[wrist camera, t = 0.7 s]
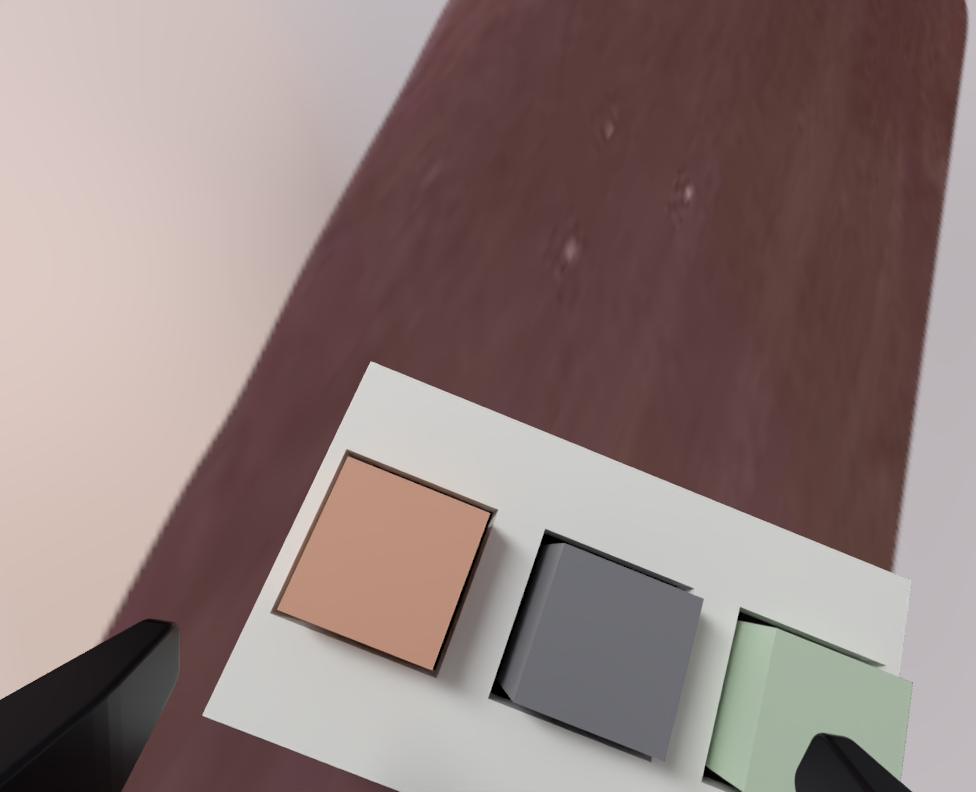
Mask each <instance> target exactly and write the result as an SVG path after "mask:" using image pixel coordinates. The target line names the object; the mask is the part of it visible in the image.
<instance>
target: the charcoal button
mask: <svg viewBox="0 0 976 792" xmlns="http://www.w3.org/2000/svg"><path fill="white" fill-rule="evenodd" d="M703 601H704V599H703V598H701V597H698V596H696V595H693V594H691V593H688V592H686V591H683V590H681V589H678V588H676V587H673V586H671V585H668V584H666V583H663V582H661V581H658V580H656V579H653V578H651V577H648V576H646V575H643V574H641V573H638V572H636V571H633V570H631V569H628V568H626V567H623V566H621V565H618V564H616V563H613V562H611V561H608V560H606V559H603V558H601V557H598V556H596V555H593V554H591V553H588V552H586V551H583V550H581V549H578V548H576V547H573V546H571V545H568V544H566V543H559V544H548V545H542V546H541V549H540V552H539V555H538V558H537V561H536V564H535V567H534V570H533V572H532V575H531V578H530V581H529V584H528V587H527V590H526V593H525V596H524V599H523V602H522V605H521V608H520V611H519V614H518V617H517V620H516V623H515V626H514V629H513V632H512V635H511V638H510V641H509V644H508V647H507V650H506V653H505V656H504V659H503V662H502V665H501V668H500V671H499V674H498V677H497V681H498V682H499V684H500V685H501V687H502V688H503V689H504V691H505V692H506V693H507V695H508V696H509V697H510V699H511V700H512V701H513V702H514V703H516V704H519V705H521V706H524V707H527V708H529V709H532V710H534V711H537V712H539V713H542V714H544V715H547V716H550V717H552V718H555V719H557V720H560V721H562V722H565V723H567V724H570V725H573V726H575V727H578V728H580V729H583V730H585V731H588V732H590V733H593V734H596V735H598V736H601V737H603V738H606V739H608V740H611V741H613V742H616V743H619V744H621V745H624V746H626V747H629V748H631V749H634V750H636V751H639V752H641V753H644V754H647V755H649V756H652V757H654V758H657V759H659V760H662V761H664V762H665V759H666V755H667V750H668V746H669V742H670V738H671V734H672V730H673V725H674V721H675V717H676V713H677V709H678V705H679V701H680V696H681V692H682V688H683V684H684V680H685V676H686V671H687V667H688V663H689V659H690V655H691V651H692V646H693V642H694V638H695V634H696V630H697V626H698V622H699V617H700V613H701V609H702V605H703Z"/></svg>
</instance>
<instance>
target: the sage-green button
mask: <svg viewBox="0 0 976 792" xmlns="http://www.w3.org/2000/svg"><path fill="white" fill-rule="evenodd" d="M912 687H913V682H910V681H908V680H905V679H903V678H900V677H898V676H895V675H893V674H890V673H888V672H885V671H883V670H880V669H878V668H875V667H873V666H870V665H868V664H865V663H863V662H860V661H858V660H855V659H853V658H850V657H848V656H845V655H843V654H840V653H838V652H835V651H833V650H830V649H828V648H825V647H823V646H820V645H818V644H815V643H813V642H810V641H808V640H805V639H803V638H800V637H798V636H796V635H793V634H791V633H788V632H786V631H783V630H781V629H778V628H774V627H769V626H764V625H759V624H753V623H748V622H743V621H738V620H737V623H736V628H735V632H734V637H733V641H732V646H731V650H730V655H729V659H728V664H727V668H726V673H725V677H724V682H723V686H722V691H721V695H720V700H719V705H718V709H717V714H716V718H715V723H714V727H713V732H712V736H711V741H710V745H709V750H708V754H707V759H706V763H705V766H706V767H708V768H709V769H711V770H712V771H714V772H715V773H716V774H718V775H719V776H721V777H722V778H724V779H725V780H727V781H728V782H729V783H731V784H732V785H734V786H735V787H737V788H738V789H739V790H741V791H742V792H796V791H795V783H794V782H795V772H796V770H797V767H798V765H799V764H800V762H801V760H802V758H803V756H804V754H805V752H806V750H807V748H808V746H809V744H810V742H811V740H812V738H813V737H814V736H815V735H816V734H818V733H822V732H823V733H830V734H835V735H841V736H845V737H848V738H850V739H852V740H853V741H854V742H855V743H857V744H858V745H859V746H860V747H861V748H862V749H863V750H865V751H866V752H867V753H868V754H869V755H870V756H871V757H873V758H874V759H875V760H876V761H877V762H878V763H880V764H881V765H882V766H883V767H884V768H885V769H886V770H888V771H889V772H890V773H891V774H892V775H893V776H894V777H896V778H897V779H898V780H899V781H900V782H901V775H902V767H903V759H904V751H905V742H906V734H907V726H908V718H909V711H910V702H911V695H912Z"/></svg>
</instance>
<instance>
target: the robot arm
mask: <svg viewBox="0 0 976 792" xmlns="http://www.w3.org/2000/svg"><path fill="white" fill-rule="evenodd" d="M179 654H180V631H179V627H178V625H177V624H176V623H174V622H169V621H163V620H157V619H145V620H142V621H140V622H138V623H137V624H135V625H133V626H131V627H129V628H128V629H126V630H124V631H122V632H121V633H119V634H117V635H115V636H113V637H112V638H110V639H108V640H106V641H104V642H103V643H101V644H99V645H97V646H96V647H94V648H92V649H90V650H89V651H87V652H85V653H83V654H81V655H79V656H78V657H76V658H74V659H72V660H71V661H69V662H67V663H65V664H63V665H62V666H60V667H58V668H57V669H54V670H53V671H51V672H49V673H47V674H46V675H44V676H42V677H40V678H39V679H37V680H35V681H33V682H31V683H30V684H28V685H26V686H24V687H22V688H21V689H19V690H17V691H15V692H13V693H12V694H10V695H8V696H6V697H5V698H3V699H1V700H0V792H121V791H122V789H123V788H124V786H125V784H126V782H127V780H128V778H129V776H130V774H131V772H132V770H133V768H134V766H135V764H136V762H137V760H138V758H139V756H140V754H141V752H142V750H143V748H144V746H145V744H146V742H147V740H148V738H149V736H150V734H151V732H152V730H153V728H154V726H155V724H156V722H157V720H158V718H159V716H160V714H161V712H162V710H163V708H164V706H165V704H166V702H167V700H168V698H169V696H170V694H171V692H172V690H173V688H174V686H175V684H176V681H177V678H178V674H179ZM794 783H795V791H796V792H912V791H910V790H909V789H908V788H907V787H906V786H905V785H904V784H902V783H901V782H900V781H899V780H898V779H897V778H896V777H894V776H893V775H892V774H891V773H890V772H889V771H888V770H886V769H885V768H884V767H883V766H882V765H881V764H880V763H878V762H877V761H876V760H875V759H874V758H873V757H871V756H870V755H869V754H868V753H867V752H866V751H865V750H863V749H862V748H861V747H860V746H859V745H858V744H857V743H855V742H854V741H853V740H852V739H850V738H848V737H845V736H841V735H835V734H830V733H823V732H822V733H818V734H816V735H815V736H814V737H813V738H812V740H811V742H810V744H809V746H808V748H807V750H806V752H805V754H804V756H803V758H802V760H801V762H800V764H799V765H798V767H797V770H796V772H795V782H794Z"/></svg>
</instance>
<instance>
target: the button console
mask: <svg viewBox="0 0 976 792" xmlns="http://www.w3.org/2000/svg"><path fill="white" fill-rule="evenodd" d="M348 456H349V457H351V458H354V459H356V460H359V461H361V462H364V463H366V464H369V465H371V466H373V465H375V466H378V467H380V468H383V469H385V470H388V471H390V472H393V473H395V474H398V475H400V476H403V477H405V478H408V479H410V480H413V481H415V482H418V483H420V484H423V485H425V486H428V487H430V488H433V489H435V490H437V491H440V492H442V493H445V494H447V495H450V496H452V497H455V498H457V499H460V500H462V501H465V502H467V503H470V504H472V505H475V506H477V507H480V508H482V509H485V510H487V511H490V512H492V513H493V514H492V517H491V520H490V522H489V525H488V528H487V530H486V533H485V536H484V539H483V541H482V544H481V547H480V549H479V552H478V555H477V558H476V560H475V563H474V566H473V568H472V571H471V574H470V577H469V579H468V582H467V585H466V587H465V590H464V593H463V596H462V598H461V601H460V604H459V606H458V609H457V612H456V615H455V617H454V620H453V623H452V625H451V628H450V631H449V634H448V636H447V639H446V642H445V644H444V647H443V650H442V653H441V655H440V658H439V661H438V663H437V666H436V669H435V671H434V670H430V669H427V668H424V667H422V666H419V665H417V664H414V663H412V662H409V661H407V660H404V659H401V658H399V657H396V656H394V655H391V654H389V653H386V652H384V651H381V650H378V649H376V648H373V647H371V646H368V645H366V644H363V643H361V642H358V641H355V640H353V639H350V638H348V637H345V636H343V635H340V634H338V633H335V632H333V631H330V630H327V629H325V628H322V627H320V626H317V625H315V624H312V623H310V622H307V621H304V620H302V619H299V618H297V617H294V616H292V615H289V614H287V613H284V612H281V611H279V610H277V608H278V606H279V604H280V602H281V600H282V597H283V595H284V593H285V591H286V589H287V587H288V584H289V582H290V580H291V578H292V576H293V574H294V572H295V569H296V567H297V565H298V563H299V561H300V559H301V556H302V554H303V552H304V550H305V548H306V546H307V543H308V541H309V539H310V537H311V535H312V533H313V530H314V528H315V526H316V524H317V522H318V520H319V518H320V515H321V513H322V511H323V509H324V507H325V505H326V502H327V500H328V498H329V496H330V494H331V492H332V489H333V487H334V485H335V483H336V481H337V479H338V477H339V474H340V472H341V470H342V468H343V466H344V464H345V461H346V459H347V457H348ZM544 533H545V534H547V535H550V536H552V537H555V538H557V539H560V540H562V541H565V542H567V543H570V544H572V545H575V546H577V547H580V548H582V549H585V550H587V551H590V552H592V553H595V554H597V555H600V556H602V557H605V558H607V559H610V560H612V561H615V562H617V563H620V564H622V565H625V566H627V567H630V568H632V569H635V570H637V571H640V572H642V573H645V574H647V575H650V576H652V577H655V578H657V579H660V580H662V581H665V582H667V583H669V584H672V585H674V586H677V588H678V589H681V590H683V591H686V592H688V593H691V594H693V595H696V596H698V597H701V598H703V599H704V601H703V605H702V609H701V613H700V617H699V622H698V626H697V630H696V634H695V638H694V642H693V646H692V651H691V655H690V659H689V663H688V667H687V671H686V676H685V680H684V684H683V688H682V692H681V696H680V701H679V705H678V709H677V713H676V717H675V721H674V725H673V730H672V734H671V738H670V742H669V746H668V750H667V755H666V759H665V762H664V761H662V760H659V759H657V758H654V757H652V756H649V755H647V754H644V753H641V752H639V751H636V750H634V749H631V748H629V747H626V746H624V745H621V744H619V743H616V742H613V741H611V740H608V739H606V738H603V737H601V736H598V735H596V734H593V733H590V732H588V731H585V730H583V729H580V728H578V727H575V726H573V725H570V724H567V723H565V722H562V721H560V720H557V719H555V718H552V717H550V716H547V715H544V714H542V713H539V712H537V711H534V710H532V709H529V708H527V707H524V706H521V705H519V704H516V703H514V702H513V701H511V700H508V699H506V698H503V697H501V696H498V695H496V694H493V693H491V692H490V691H491V688H492V685H493V682H494V679H495V676H496V673H497V670H498V667H499V665H500V662H501V659H502V656H503V653H504V650H505V647H506V644H507V641H508V638H509V635H510V632H511V629H512V626H513V623H514V620H515V617H516V614H517V611H518V608H519V605H520V602H521V599H522V596H523V593H524V590H525V587H526V584H527V581H528V578H529V575H530V572H531V569H532V567H533V564H534V561H535V558H536V555H537V552H538V549H539V546H540V543H541V540H542V537H543V534H544ZM911 584H912V581H910V580H908V579H906V578H903V577H901V576H898V575H896V574H893V573H891V572H888V571H886V570H883V569H881V568H878V567H876V566H874V565H871V564H869V563H866V562H864V561H861V560H859V559H856V558H854V557H851V556H849V555H846V554H844V553H842V552H839V551H837V550H834V549H832V548H829V547H827V546H824V545H822V544H819V543H817V542H814V541H812V540H810V539H807V538H805V537H802V536H800V535H797V534H795V533H792V532H790V531H787V530H785V529H782V528H780V527H778V526H775V525H773V524H770V523H768V522H765V521H763V520H760V519H758V518H755V517H753V516H750V515H748V514H745V513H743V512H741V511H738V510H736V509H733V508H731V507H728V506H726V505H723V504H721V503H718V502H716V501H713V500H711V499H709V498H706V497H704V496H701V495H699V494H696V493H694V492H691V491H689V490H686V489H684V488H681V487H679V486H677V485H674V484H672V483H669V482H667V481H664V480H662V479H659V478H657V477H654V476H652V475H649V474H647V473H645V472H642V471H640V470H637V469H635V468H632V467H630V466H627V465H625V464H622V463H620V462H617V461H615V460H613V459H610V458H608V457H605V456H603V455H600V454H598V453H595V452H593V451H590V450H588V449H585V448H583V447H580V446H578V445H576V444H573V443H571V442H568V441H566V440H563V439H561V438H558V437H556V436H553V435H551V434H548V433H546V432H544V431H541V430H539V429H536V428H534V427H531V426H529V425H526V424H524V423H521V422H519V421H516V420H514V419H512V418H509V417H507V416H504V415H502V414H499V413H497V412H494V411H492V410H489V409H487V408H484V407H482V406H480V405H477V404H475V403H472V402H470V401H467V400H465V399H462V398H460V397H457V396H455V395H452V394H450V393H448V392H445V391H443V390H440V389H438V388H435V387H433V386H430V385H428V384H425V383H423V382H420V381H418V380H415V379H413V378H411V377H408V376H406V375H403V374H401V373H398V372H396V371H393V370H391V369H388V368H386V367H383V366H381V365H379V364H376V363H374V362H370V364H369V366H368V368H367V370H366V372H365V374H364V377H363V379H362V381H361V383H360V385H359V387H358V389H357V391H356V393H355V395H354V398H353V400H352V402H351V404H350V406H349V408H348V410H347V412H346V414H345V416H344V419H343V421H342V423H341V425H340V427H339V429H338V431H337V433H336V435H335V437H334V440H333V442H332V444H331V446H330V448H329V450H328V452H327V454H326V456H325V458H324V461H323V463H322V465H321V467H320V469H319V471H318V473H317V475H316V477H315V480H314V482H313V484H312V486H311V488H310V490H309V492H308V494H307V496H306V498H305V501H304V503H303V505H302V507H301V509H300V511H299V513H298V515H297V517H296V519H295V522H294V524H293V526H292V528H291V530H290V532H289V534H288V536H287V538H286V540H285V543H284V545H283V547H282V549H281V551H280V553H279V555H278V557H277V559H276V561H275V564H274V566H273V568H272V570H271V572H270V574H269V576H268V578H267V580H266V583H265V585H264V587H263V589H262V591H261V593H260V595H259V597H258V599H257V601H256V604H255V606H254V608H253V610H252V612H251V614H250V616H249V618H248V620H247V622H246V625H245V627H244V629H243V631H242V633H241V635H240V637H239V639H238V641H237V643H236V646H235V648H234V650H233V652H232V654H231V656H230V658H229V660H228V662H227V664H226V667H225V669H224V671H223V673H222V675H221V677H220V679H219V681H218V683H217V685H216V688H215V690H214V692H213V694H212V696H211V698H210V700H209V702H208V704H207V707H206V709H205V711H204V713H203V715H202V716H205V717H208V718H210V719H213V720H215V721H218V722H221V723H223V724H226V725H228V726H231V727H234V728H236V729H239V730H241V731H244V732H247V733H249V734H252V735H254V736H257V737H260V738H262V739H265V740H267V741H270V742H273V743H275V744H278V745H280V746H283V747H286V748H288V749H291V750H293V751H296V752H299V753H301V754H304V755H306V756H309V757H312V758H314V759H317V760H319V761H322V762H325V763H327V764H330V765H332V766H335V767H337V768H340V769H343V770H345V771H348V772H350V773H353V774H356V775H358V776H361V777H363V778H366V779H369V780H371V781H374V782H376V783H379V784H382V785H384V786H387V787H389V788H392V789H395V790H397V791H400V792H742V791H741V790H739V789H738V788H737V787H735V786H734V785H732V784H731V783H729V782H728V781H727V780H725V779H724V778H722V777H721V776H719V775H718V774H716V773H715V772H714V771H712V770H711V769H709V770H708V775H707V777H705V776H703V773H704V768H705V763H706V759H707V754H708V750H709V745H710V741H711V736H712V732H713V727H714V723H715V718H716V714H717V709H718V705H719V700H720V695H721V691H722V686H723V682H724V677H725V673H726V668H727V664H728V659H729V655H730V650H731V646H732V641H733V637H734V632H735V628H736V623H737V618H738V614H739V612H742V613H743V614H742V619H741V621H743V622H748V623H753V624H759V625H764V626H769V627H774V628H778V629H781V630H783V631H786V632H788V633H791V634H793V635H796V636H798V637H800V638H803V639H805V640H808V641H810V642H813V643H815V644H818V645H820V646H823V647H825V648H828V649H830V650H833V651H835V652H838V653H840V654H843V655H845V656H848V657H850V658H853V659H855V660H858V661H860V662H863V663H865V664H868V665H870V666H873V667H875V668H878V669H880V670H883V671H885V672H888V673H890V674H893V675H895V676H898V677H899V674H900V668H901V659H902V652H903V645H904V637H905V629H906V622H907V615H908V607H909V600H910V592H911Z"/></svg>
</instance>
